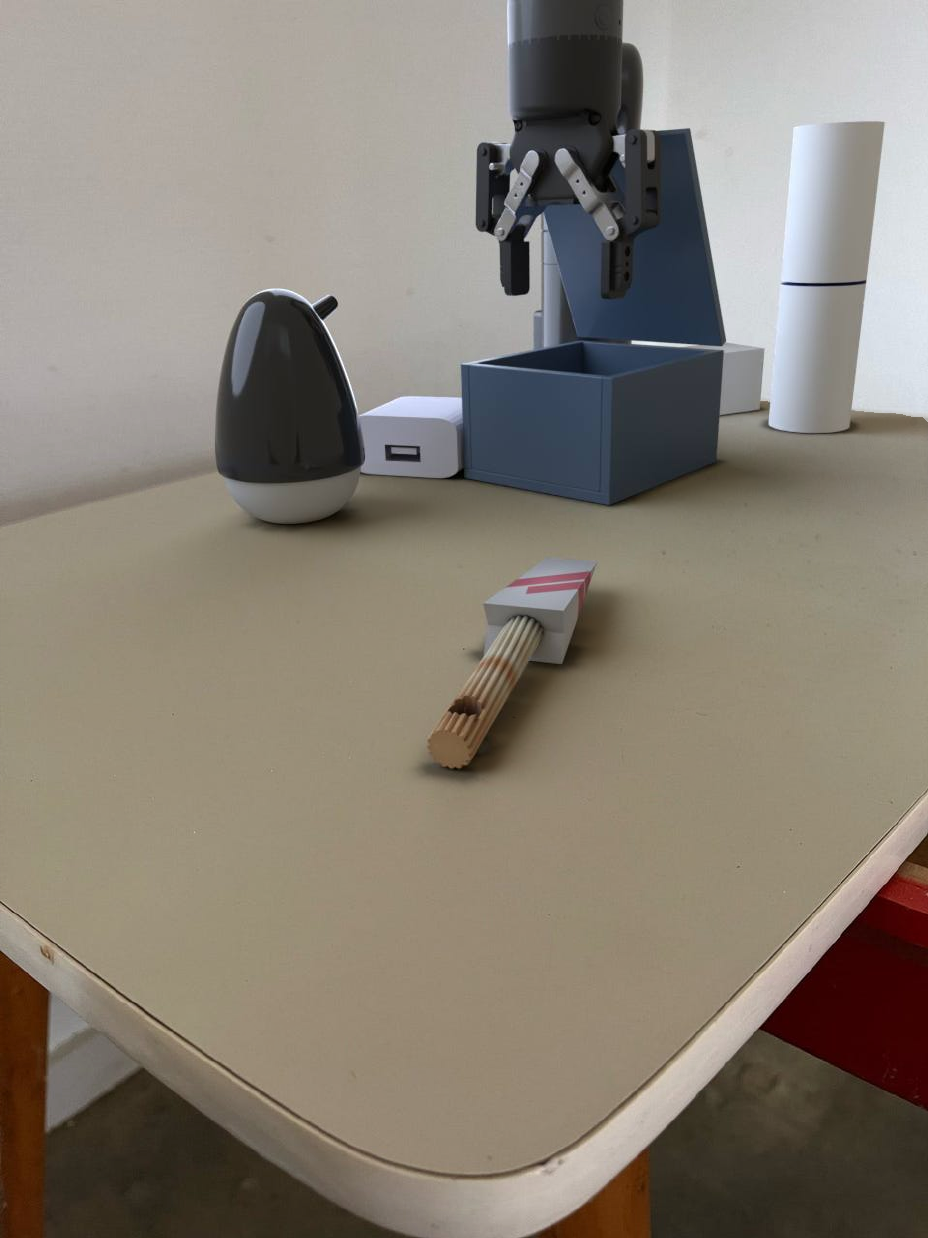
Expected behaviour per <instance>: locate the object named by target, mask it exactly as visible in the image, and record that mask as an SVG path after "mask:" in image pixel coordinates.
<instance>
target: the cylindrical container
mask: <svg viewBox="0 0 928 1238" xmlns="http://www.w3.org/2000/svg"><path fill="white" fill-rule="evenodd" d="M885 125H886V124H885V121H878V120H874V121H872V120H871V121H869V120H867V121H864V120H863V121H861V120H860V121H839V122H823V123H814V124H813V123H812V124H804V125H797V126H793V129H792V130H793V132H792V143H791V155H790V167H789V177H788V178H789V179H788V189H787V201H786V212H785V213H786V214H785V226H784V237H783V248H782V261H781V271H780V272H781V273H780V281H781V283H780V284H779V295H778V296H779V297H778V306H777V307H778V308H777V320H776V329H775V330H776V332H775V342H774V343H775V344H774V354H773V355H774V356H773V367H772V377H771V378H772V380H771V390H770V402H769V412H768V413H769V415H768V426H769V427H771V428H773V429H775V430H778V431H779V430H780V431H785V432H790V433H802V434H829V433H837V432H842V431H846V430H848V429H850V425H851V418H852V417H851V416H852V410H853V409H852V408H853V400H854V391H855V383H856V375H857V365H858V358H859V348H860V340H861V333H862V323H863V314H864V307H865V303H864V302H865V298H866V291H867V289H866V288H867V282H868V281H867V279H868V271H869V264H870V254H871V246H872V238H873V237H872V236H873V230H874V229H873V227H874V220H875V213H876V203H877V192H878V185H879V176H880V169H881V168H880V167H881V158H882V150H883V141H884V133H885V132H884V131H885Z"/></svg>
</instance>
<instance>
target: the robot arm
mask: <svg viewBox="0 0 928 1238" xmlns="http://www.w3.org/2000/svg"><path fill="white" fill-rule="evenodd" d="M506 2H507V3H506V6H507V7H506V9H507V10H506V11H507V13H506V14H507V20H506V21H507V71H508V72H507V78H508V79H507V83H508V84H507V87H508V88H507V89H508V90H507V91H508V97H507V98H508V114H509V116H510V118H511V120H512V122H513V125H514V132H513V137H512V140H511V143H507V142H501V141H488V142H487V141H485V142H484V141H482V142H480V143H479V144H477V145H478V146H477V148H476V172H475V173H476V175H475V227H476V229H477V231H478V232H479V233H488V235H491V236H493V237H495V239H496V240H497V241H498V244H499V281H500V284H501V287H502V288H503V291H504V294H505V295H506V296H508V297H517V296H525V295H528V294H529V292H530V287H531V281H530V280H531V278H530V277H531V273H530V271H531V269H530V267H531V266H530V265H531V264H530V263H531V262H530V261H531V259H530V258H531V257H530V256H531V255H530V253H531V252H530V251H531V250H530V247H531V246H530V240H529V241H528V240H527V241H525V238H527V236H528V234H529V232H530V230H531V229H532V227H533V225H534V223H535V222H536V219H537V218H538V217H539V216H540V230H541V232H540V246H541V247H540V256H541V257H540V258H541V259H540V262H541V264H540V265H541V268H540V269H541V270H540V273H541V276H540V277H541V278H540V279H541V282H540V284H541V285H540V286H541V287H540V289H541V292H540V293H541V295H540V296H541V297H540V298H541V299H540V303H541V304H540V305H541V306H540V308H541V309H538V310H535V312H534V313H533V315H532V328H533V329H532V333H533V334H532V338H533V340H532V342H533V343H532V344H533V346H532V347H533V349H532V350H534V349H539V348H544V347H549V346H554V345H559V344H565V343H570V342H575V341H580V340H582V341H597V342H611V343H626V344H633V341H632V340H616V339H601V338H586V337H578V335H577V331H576V328H575V324H574V320H573V317H572V313H571V310H570V306H569V303H568V299H567V295H566V292H565V288H564V285H563V281H562V278H561V274H560V270H559V267H558V263H557V260H556V256H555V253H554V249H553V245H552V242H551V238H550V235H549V231H548V228H547V224H546V220H545V217H544V213H543V212H544V210H545V209H546V207H547V205H574V204H582V206H583V208H584V210H585V211H586V212H587V213H588V214H590V215H592V216H593V218H594V219H595V221H596V223H597V225H598V226H599V228H600V230H601V232H602V233H603V235H604V237H605V238H606V239H607V242H602V243H601V297H602V298H603V299H618V298H623V297H624V296H625V294H626V290H627V289H630V286H631V283H632V274H633V273H632V272H633V267H632V265H633V244H634V240H635V238H636V236H637V235H639V234H640V233H642V232H644V231H647V230H649V229H652V228H656V227H658V226H659V225H660V223H661V137H660V134H659V132H658V131H659V130H655V129H641V127H642V115H643V106H644V105H643V104H644V67H643V60H642V57H641V53H640V51H639V49H638V47H637V46H635V45H634V44H633V43H630V42H623V31H624V30H623V29H624V0H507V1H506ZM624 133H627V134H624ZM619 134H624V135H619ZM619 156H620V162H621V163H622V165H623V167H625V184H626V198H625V196H624V194H623V192H622V190H621V189H620V187H619V185H618V184H617V182H616V180H615V178H614V177H613V175H612V173H611V171H612V169H613V167H614V165H615V163H616V162H617V160H618V158H619ZM514 170H515V171H516V173H517V176H516V178H515V180H514V183H512V185H511V173H512V171H514ZM625 201H626V204H625Z"/></svg>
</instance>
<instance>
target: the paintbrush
mask: <svg viewBox="0 0 928 1238" xmlns="http://www.w3.org/2000/svg"><path fill="white" fill-rule="evenodd" d="M597 564H598V561H597V560H596V561H595V560H583V559H572V558H571V559H570V558H556V557H546V558H545V559H543V560H542V561H541V562H539V563H538V564H536V565H535V566H534V567H532V568H530V569H529V570H528V571H526V572H525V573H524V574H522V575H521V576H520V577H517V579H515V580H514V581H512V582H511V583H509V584H508V585H507V586H505V587H504V588H502V589H501V590H500V591H498V592H496V593H495V594H494V595H492V596H491V597H490V598H488V599H487V600H485V601H484V602H483V609H484V614H485V617H486V621H487V631H486V635H485V643H484V650H483V657H482V659H481V661H480V662H479V663H478V665H477V666H476V667H475V669H474V671H473V672H472V673H471V675H470V676H469V677H468V679H467V680H466V682H465V683H464V685H462V686H463V687H462V688H461V689H460V690H459V692H458V693H457V695H456V696H455V698H454V699H453V701H452V702H451V704H450V705H449V707H448V708H447V709H446V711H445V712H444V713H443V715H442V717H440V720H439V721H438V722H437V724H436V725H435V727H434V728H433V729H432V730H431V732H430V733H429V735H428V737H427V738H426V741H427V745H426V748H427V750H429V753H428V755H429V757H433V758H434V762H436V763H440V765H441V767H444V768H446V767H448V768H449V769H450V770H453V769H454V768H456V769H462V768H463V767H464V766H468V765H469V764H470V763H471V761H472V759H474V757H475V755H476V753H477V751H478V749H480V746H481V744H482V742H483V741H484V739H485V737H486V735H488V732H489V730H490V729H491V727H492V725H493V723H494V722H495V720H496V718H497V716H498V715H499V713H500V711H501V710H502V708H503V707H504V705H505V703H506V701H507V700H508V698H509V696H510V695H511V693H512V691H513V690H514V688H515V686H516V685H517V682H518V681H519V679H520V677H521V676H522V674H523V672H524V670H525V668H526V667H527V665H528V664H529V661H531V662H538V663H539V662H540V663H547V664H557V665H562V664H564V663H563V662H564V659H565V656H566V653H567V651H568V648H569V645H570V642H571V639H572V636H573V633H574V630H575V628H576V625H577V621H578V619H579V616H580V613H581V610H582V607H583V604H584V603H585V598H586V595H587V593H588V591H589V590H588V589H589V586H590V584H591V581H592V578H593V575H594V572H595V569H596V567H597Z"/></svg>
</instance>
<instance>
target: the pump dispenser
mask: <svg viewBox="0 0 928 1238" xmlns="http://www.w3.org/2000/svg"><path fill="white" fill-rule="evenodd" d="M338 308H339V301H338V299H337V297H336V296H334V295H332V294H328V295H326V296H324V297H322V298H321V299H320V300H317V301H315V303H313V304H311V303H310V302H309V301H308V300H307V299H306V298H305V297H303V296H302V295H300V294H298V293H296V292H294V291H292V290H289V289H284V288H269V289H264V290H262V291H259V292H257V293H255V294H254V295H252V296H251V297H250V298H248V300H246V301H245V302H244V304H243V305H242V306H241V308H240V309H239V311H238V312H237V315H236V317H235V320H234V321H233V323H232V326H231V329H230V332H229V335H228V338H227V342H226V345H225V349H224V350H225V351H224V354H223V358H222V363H221V368H220V375H219V380H218V385H217V386H218V387H217V393H216V404H215V418H214V419H215V420H214V421H215V422H214V455H215V465H216V470H217V472H218V473H219V475H220V476H222V477H223V480H224V483H225V487H226V488H227V490H228V492H229V494H230V496H231V498H232V499H233V500H234V501H235V503H236V504H237V505H238V506H239V507H240V508H241V509H242V510H244V512H246V513H247V514H249V515H250V516H252V517H254V518H257V519H258V520H261V521H264V522H268V523H271V524H278V525H279V524H281V525H297V524H298V525H299V524H306V523H312V522H316V521H320V520H323V519H326V518H328V517H330V516H332V515H334V514H335V513H337V512H339V511H340V510H341V509H343V508H344V507H345V506H346V504H348V503H349V501H350V500H351V499H352V497H353V496H354V494H355V492H356V489H357V487H358V484H359V481H360V476H361V472H360V471H361V466H362V465H363V464H364V462H365V447H364V439H363V434H362V429H361V424H360V419H359V411H358V406H357V404H356V399H355V395H354V392H353V389H352V385H351V383H350V382H351V381H350V380H349V377H348V374H347V371H346V369H345V366H344V363H343V360H342V358H341V355H340V352H339V351H338V348H337V346H336V344H335V341H334V339H333V337H332V335H331V333H330V331H329V329H328V327H327V326H326V323H325V322H324V321H325V320H326V319H327V318H329V317H330V316H331V315H332V314H333V313H334V312H335V311H336V310H337V309H338Z"/></svg>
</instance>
